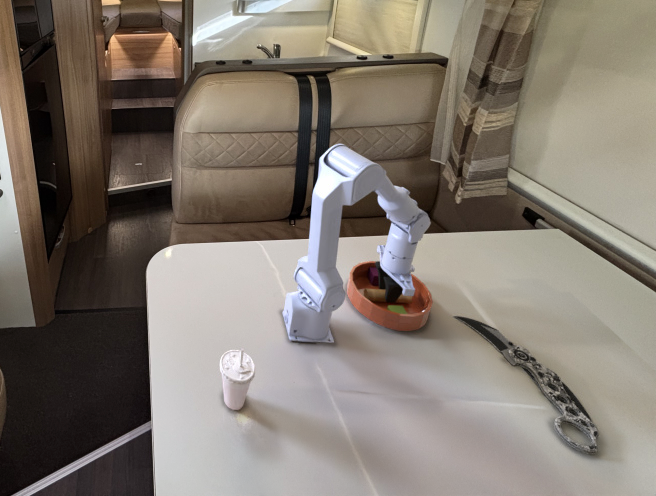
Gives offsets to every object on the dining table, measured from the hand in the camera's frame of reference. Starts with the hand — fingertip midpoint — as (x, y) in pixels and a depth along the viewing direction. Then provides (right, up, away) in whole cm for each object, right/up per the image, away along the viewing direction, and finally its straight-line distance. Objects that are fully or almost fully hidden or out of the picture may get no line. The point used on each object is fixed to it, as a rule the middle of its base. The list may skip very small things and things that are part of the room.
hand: (387, 295), depth 102 cm
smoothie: (-41, -11, -21) cm, 47 cm away
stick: (0, -1, +1) cm, 2 cm away
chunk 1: (+1, +1, +6) cm, 6 cm away
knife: (+18, -9, -17) cm, 26 cm away
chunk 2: (-1, -4, -5) cm, 6 cm away
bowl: (0, -2, +1) cm, 2 cm away
